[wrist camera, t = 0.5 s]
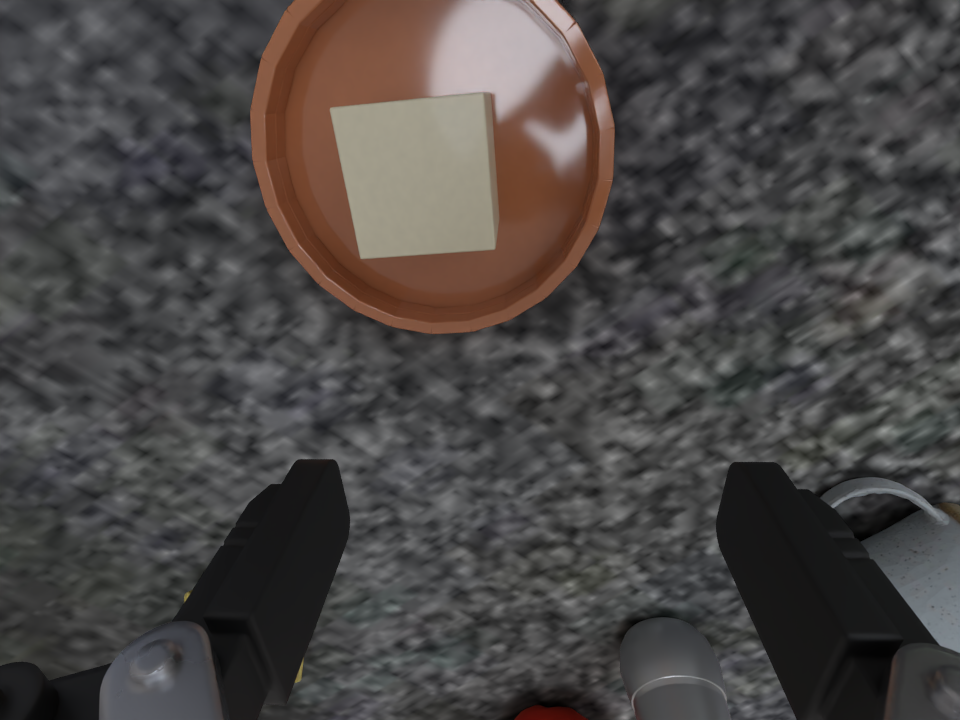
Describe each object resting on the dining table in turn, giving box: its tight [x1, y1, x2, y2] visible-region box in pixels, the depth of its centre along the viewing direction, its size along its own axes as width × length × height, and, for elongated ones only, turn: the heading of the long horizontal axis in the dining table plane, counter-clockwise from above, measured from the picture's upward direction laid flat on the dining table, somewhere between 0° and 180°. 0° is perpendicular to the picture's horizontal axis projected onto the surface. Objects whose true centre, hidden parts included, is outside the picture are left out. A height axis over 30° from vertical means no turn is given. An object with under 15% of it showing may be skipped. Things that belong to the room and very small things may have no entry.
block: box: [330, 92, 499, 259], centre depth 19 cm, size 5×5×5 cm
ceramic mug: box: [820, 477, 960, 653], centre depth 27 cm, size 11×8×8 cm
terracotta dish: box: [250, 0, 615, 334], centre depth 21 cm, size 14×14×2 cm
